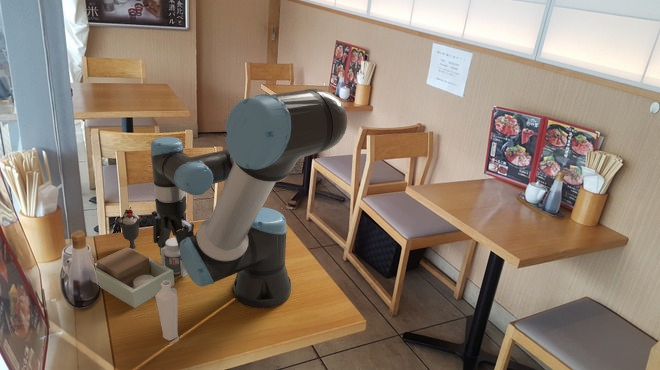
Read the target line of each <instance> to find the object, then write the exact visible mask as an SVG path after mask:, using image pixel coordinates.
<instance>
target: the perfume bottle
mask: <svg viewBox="0 0 660 370" xmlns="http://www.w3.org/2000/svg"><path fill="white" fill-rule="evenodd" d="M161 286H162V289H161V290H160V291H159V292H158V293H157V295H156V296H155V301H156V306H157V311H158V315H159V321H160V326H161V330H162V338H164V339H165V340H166V341H170V342H169V343H168V345H169V344H170V345H172V344H174V343H176V342H178V341H180V336H179V333H178V332H179V331H178V329H179V328H178V319H179V318H178V315H179V314H178V313H179V312H178V308H179V307H178V306H179V305H178V299H179V298H178V291H177V288H175V287H171V281H163V282H162V283H161Z"/></svg>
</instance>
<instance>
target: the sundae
mask: <svg viewBox="0 0 660 370" xmlns="http://www.w3.org/2000/svg"><path fill="white" fill-rule="evenodd" d="M142 220H143V219H142V217H141V216H140V215H139V214H136V212H135V211H134V210H133V209H132V207H131V206H130V207H129V209H125V210H124V213H123V214H122V216H120V217H118V218H117V220H116V224H117V225H119V227H120V230H121V233H122V235H123V238H124V239H125V240H127V241H129V247H128V248H131V249H133V250H135V249H136V248H137V245H136V244H135V240H136V239H137V238H138V237H139V235H140V234H139V233H140V223H141V222H142Z"/></svg>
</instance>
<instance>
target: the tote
mask: <svg viewBox="0 0 660 370" xmlns="http://www.w3.org/2000/svg"><path fill="white" fill-rule="evenodd" d="M130 249H131V248H130ZM132 250H134V251H136V252H138V251H137V250H135V249H132ZM138 253H140V252H138ZM140 254H142V255H144V254H143V253H140ZM148 258H149V264H150V274H151V276H153V277H154V278H153V279H151V280H150V281H148V282H146V283H144V284H142V285H140V286H139V287H137V288H135V289H134V287H132V288H131V287H129V286H127V285H126V284H124V283H122V282H120V281H119V280H117V279H115V278H113V277H112V276H110V275H108V274H107V273H105V272H103V271H101V270H100V269H98V268H97V263H96V262H95V263H94V264H95V268H96V274H97V278H98V282H99V286H100V287H99V286H98V287H99V288H101V289H103V290H104V291H106V292H107V293H109V294H110V295H112V296H114V297H115V298H117V299H118V300H120V301H122V302H124V303H125V304H128V306H130V307H131V308H134V309H136V308H138V307H139V306H141V305H142V304H145V303H146V302H148V301H150V300H151V299H153V298H154V297H155V296H156V295H157V293H158V292H159V291H160V290H161V289H162V286H161V283H162V282H163V281H171V288H173V286H174V285H175V276H174V273H173V270H172V269H170V268H168V267H166V266H164V265H162V263H160V262H158V261H156V260H154V259H152V258H151V257H148ZM155 298H156V297H155Z"/></svg>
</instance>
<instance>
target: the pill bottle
mask: <svg viewBox="0 0 660 370" xmlns="http://www.w3.org/2000/svg"><path fill="white" fill-rule="evenodd" d="M165 244H166V249H165V251H164V257H165V266H166V267H168V268H170V269H172V270H173V273H174V277H177V276H181V266H180V258H181V255H180V249H179V246H178V243H177V240H176V237H175V236H173V237H169V239H168V240H167V241H166V242H165Z"/></svg>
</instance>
